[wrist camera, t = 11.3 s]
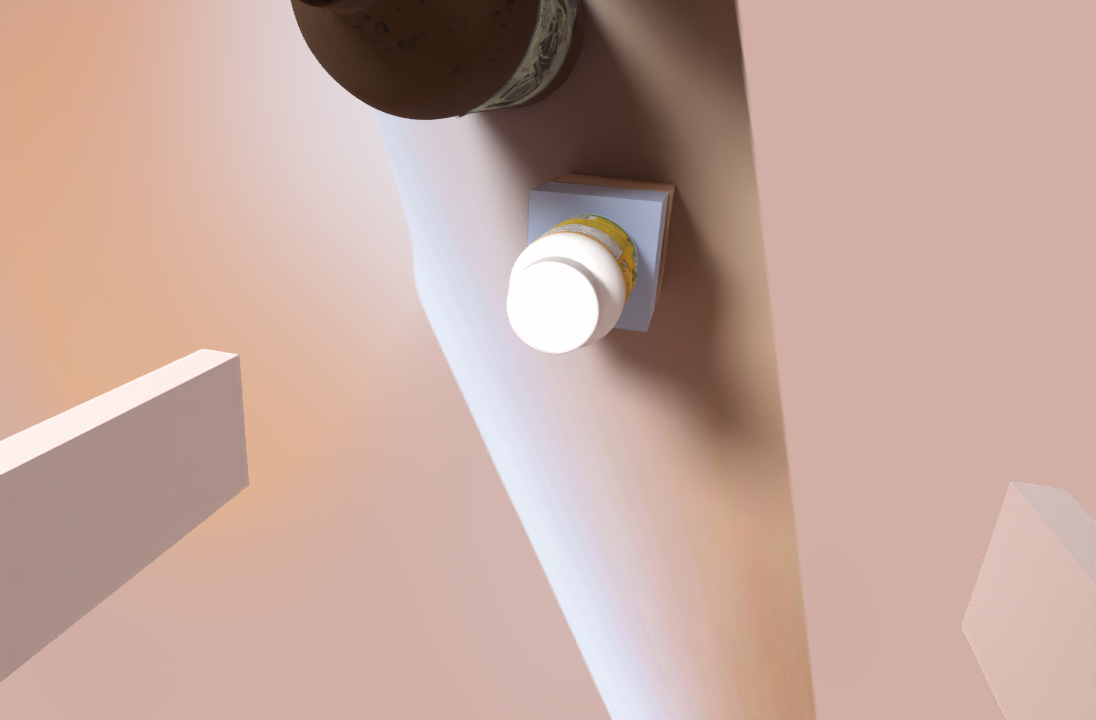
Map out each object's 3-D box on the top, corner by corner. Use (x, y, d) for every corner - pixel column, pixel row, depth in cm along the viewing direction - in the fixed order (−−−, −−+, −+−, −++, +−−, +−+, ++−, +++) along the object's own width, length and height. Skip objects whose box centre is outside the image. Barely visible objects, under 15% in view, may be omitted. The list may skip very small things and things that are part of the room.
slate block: (550, 181, 43) (529, 190, 38) (668, 192, 41) (662, 202, 37) (543, 295, 45) (522, 316, 40) (654, 309, 44) (647, 332, 39)
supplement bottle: (575, 192, 37) (531, 217, 29) (660, 249, 37) (643, 292, 29) (523, 275, 40) (468, 323, 31) (604, 330, 40) (572, 393, 31)
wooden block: (568, 173, 47) (552, 179, 42) (675, 183, 46) (670, 191, 41) (560, 277, 49) (544, 293, 45) (661, 289, 48) (655, 308, 44)
